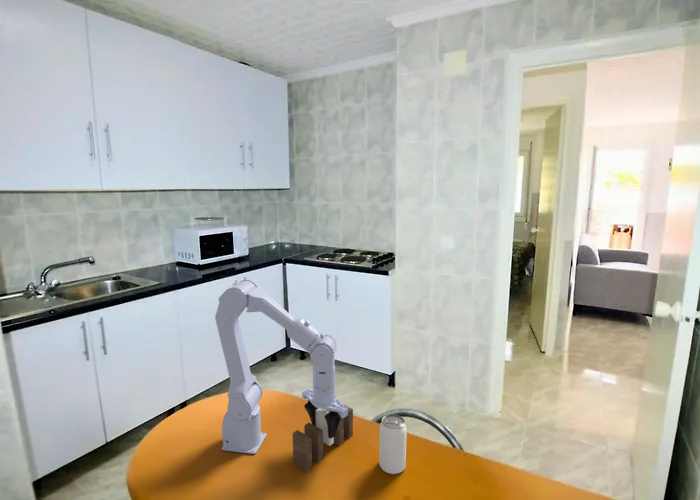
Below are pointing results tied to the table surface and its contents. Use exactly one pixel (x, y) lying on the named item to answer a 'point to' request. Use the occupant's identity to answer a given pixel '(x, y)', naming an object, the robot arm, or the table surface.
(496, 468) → the table surface
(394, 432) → the can
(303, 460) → the domino
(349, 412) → the domino
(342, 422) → the domino
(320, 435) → the domino
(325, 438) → the domino
